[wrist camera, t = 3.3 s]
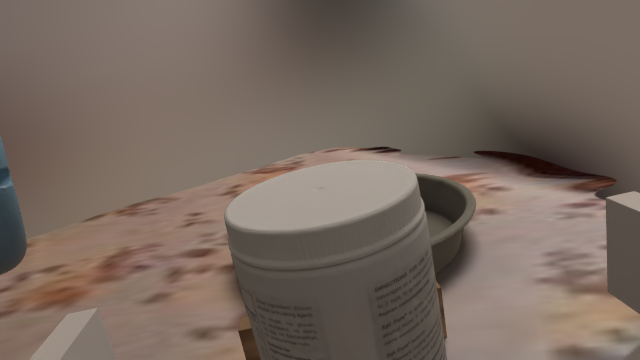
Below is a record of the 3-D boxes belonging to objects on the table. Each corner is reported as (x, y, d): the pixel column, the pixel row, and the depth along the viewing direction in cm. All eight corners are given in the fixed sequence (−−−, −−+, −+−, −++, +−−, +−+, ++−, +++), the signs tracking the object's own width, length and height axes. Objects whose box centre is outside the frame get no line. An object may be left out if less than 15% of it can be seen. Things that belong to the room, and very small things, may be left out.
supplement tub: (417, 355, 30) (388, 147, 26) (492, 480, 21) (464, 192, 17) (278, 394, 29) (224, 183, 25) (293, 542, 20) (213, 252, 16)
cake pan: (529, 228, 45) (527, 186, 44) (346, 353, 32) (336, 299, 31) (366, 192, 65) (361, 162, 64) (211, 261, 52) (201, 225, 51)
